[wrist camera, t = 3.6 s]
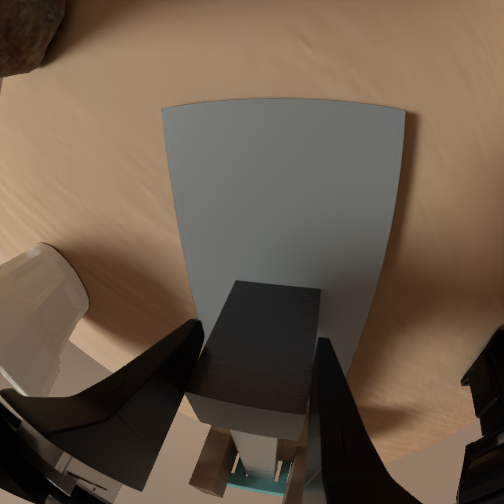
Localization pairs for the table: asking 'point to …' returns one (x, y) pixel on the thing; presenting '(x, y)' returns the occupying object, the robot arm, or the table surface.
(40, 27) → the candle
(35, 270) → the cup
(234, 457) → the bearing block
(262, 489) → the spacer
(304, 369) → the shaft
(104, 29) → the table surface
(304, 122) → the base board
